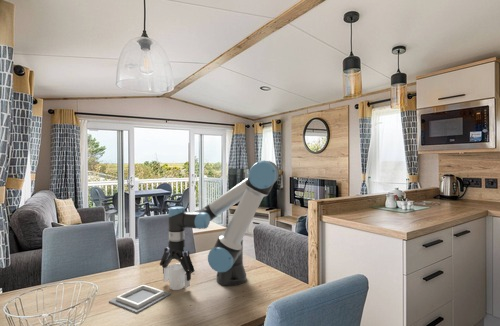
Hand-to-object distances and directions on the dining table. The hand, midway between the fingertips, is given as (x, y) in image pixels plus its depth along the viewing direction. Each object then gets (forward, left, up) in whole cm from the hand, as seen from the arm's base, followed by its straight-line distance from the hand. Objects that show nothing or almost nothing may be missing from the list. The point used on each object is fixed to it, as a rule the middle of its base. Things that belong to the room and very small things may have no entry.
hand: (176, 283), depth 134 cm
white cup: (0, 0, -2) cm, 2 cm away
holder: (+6, +16, -2) cm, 17 cm away
